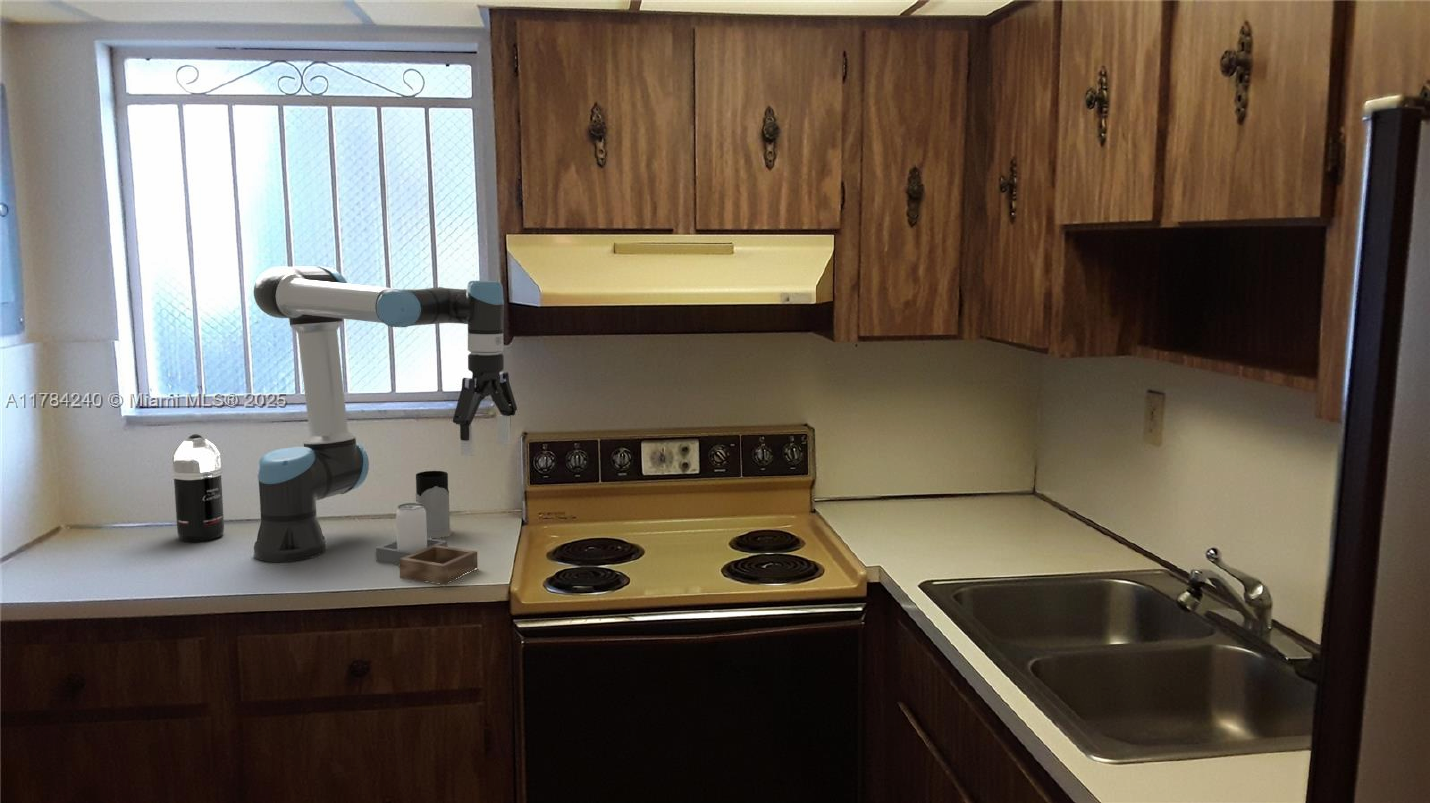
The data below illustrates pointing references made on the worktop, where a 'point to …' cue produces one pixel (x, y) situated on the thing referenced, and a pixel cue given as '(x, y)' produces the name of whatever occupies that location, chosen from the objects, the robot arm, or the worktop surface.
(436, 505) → the glass holder
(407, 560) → the brown open square box
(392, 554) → the grey square tray
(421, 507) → the can
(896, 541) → the worktop surface
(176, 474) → the spray bottle
